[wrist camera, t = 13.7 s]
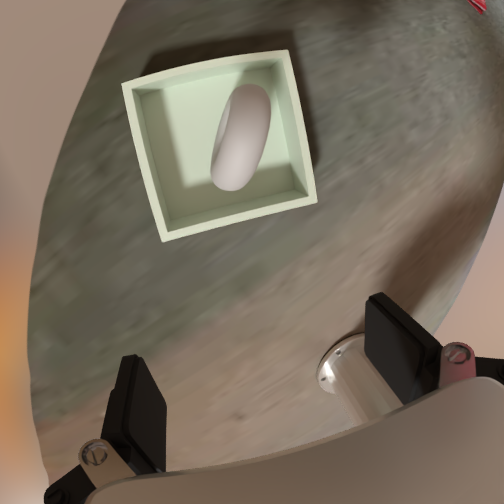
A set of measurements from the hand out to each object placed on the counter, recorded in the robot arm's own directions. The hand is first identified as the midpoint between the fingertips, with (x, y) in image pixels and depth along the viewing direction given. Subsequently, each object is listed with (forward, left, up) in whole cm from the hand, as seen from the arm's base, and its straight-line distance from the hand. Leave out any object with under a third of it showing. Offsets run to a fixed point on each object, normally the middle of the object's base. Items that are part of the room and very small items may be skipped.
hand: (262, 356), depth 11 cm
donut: (-4, -8, -23) cm, 25 cm away
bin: (-2, -8, -23) cm, 25 cm away
